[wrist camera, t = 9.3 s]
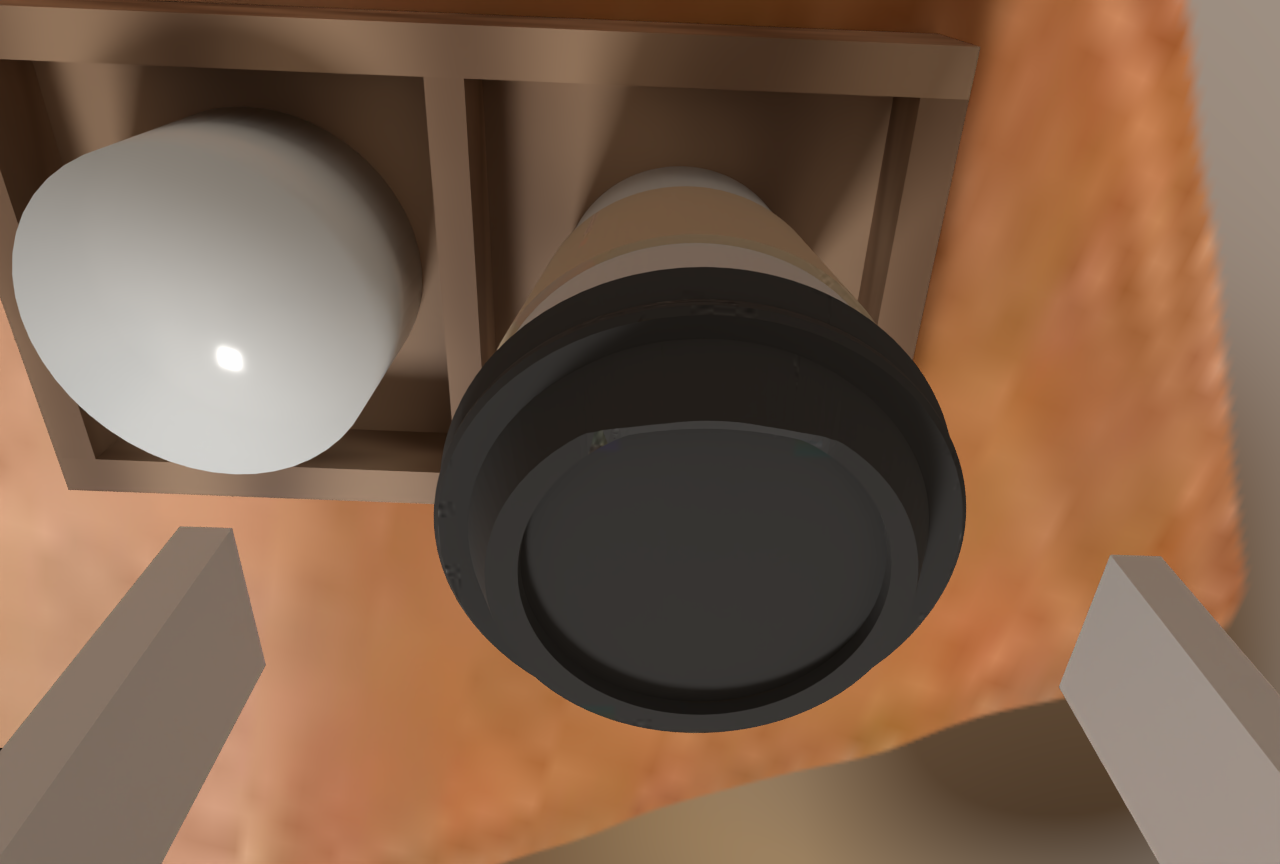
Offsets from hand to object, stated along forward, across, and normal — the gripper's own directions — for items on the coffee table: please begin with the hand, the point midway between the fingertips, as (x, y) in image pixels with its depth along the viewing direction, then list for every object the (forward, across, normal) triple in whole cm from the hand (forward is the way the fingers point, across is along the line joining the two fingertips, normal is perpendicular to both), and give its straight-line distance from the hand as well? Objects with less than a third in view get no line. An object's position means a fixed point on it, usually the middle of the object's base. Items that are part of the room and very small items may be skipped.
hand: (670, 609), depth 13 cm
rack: (+16, -6, 0) cm, 17 cm away
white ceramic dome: (+15, -12, 0) cm, 19 cm away
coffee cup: (+15, +1, 0) cm, 15 cm away
